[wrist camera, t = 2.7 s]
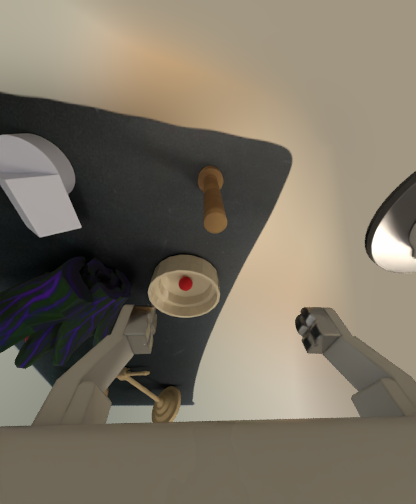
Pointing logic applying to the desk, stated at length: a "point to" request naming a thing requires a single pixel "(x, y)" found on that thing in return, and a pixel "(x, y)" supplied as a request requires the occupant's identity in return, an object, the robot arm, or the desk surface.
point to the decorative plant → (61, 310)
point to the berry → (185, 283)
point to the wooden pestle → (212, 199)
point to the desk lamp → (164, 403)
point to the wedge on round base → (38, 183)
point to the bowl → (176, 300)
